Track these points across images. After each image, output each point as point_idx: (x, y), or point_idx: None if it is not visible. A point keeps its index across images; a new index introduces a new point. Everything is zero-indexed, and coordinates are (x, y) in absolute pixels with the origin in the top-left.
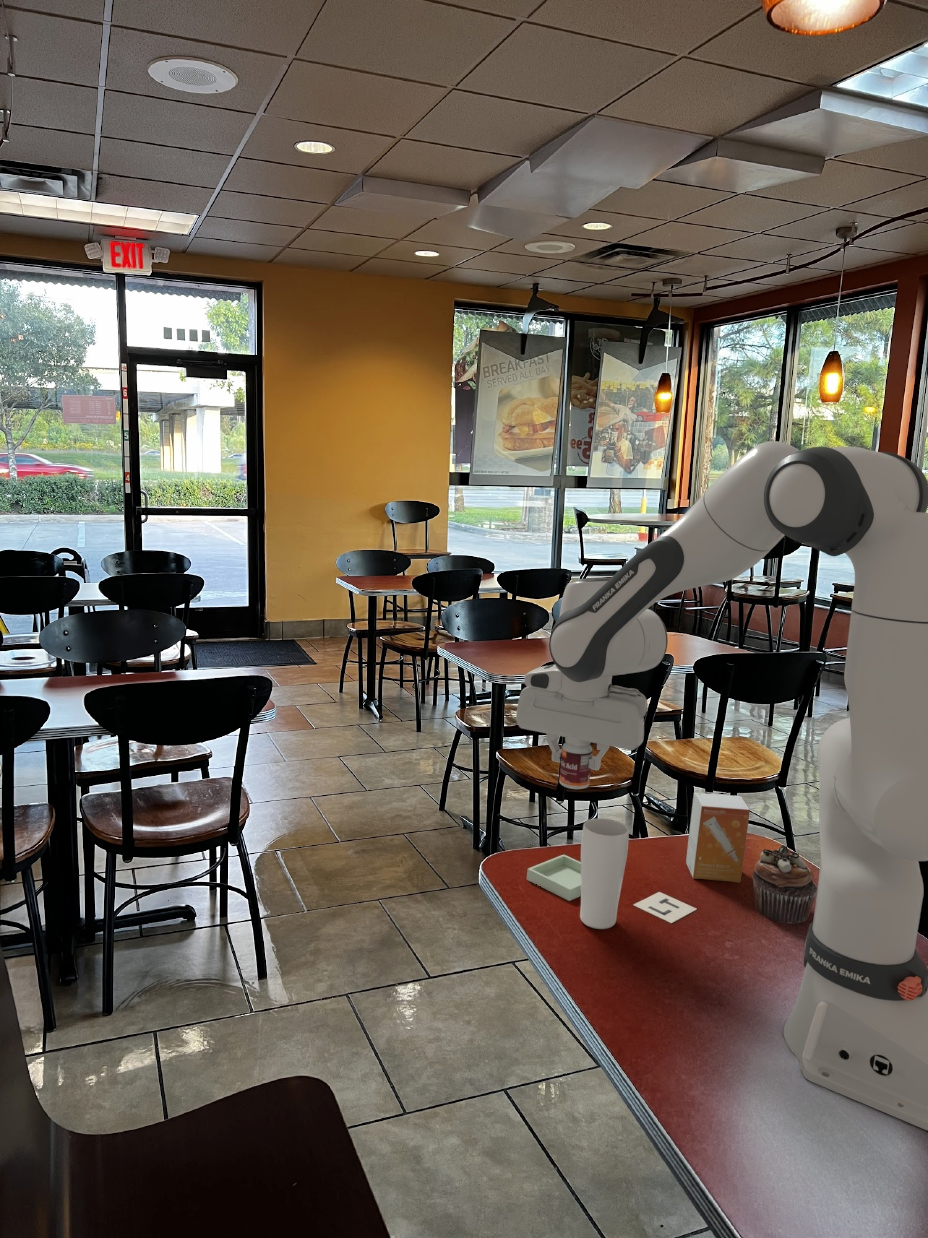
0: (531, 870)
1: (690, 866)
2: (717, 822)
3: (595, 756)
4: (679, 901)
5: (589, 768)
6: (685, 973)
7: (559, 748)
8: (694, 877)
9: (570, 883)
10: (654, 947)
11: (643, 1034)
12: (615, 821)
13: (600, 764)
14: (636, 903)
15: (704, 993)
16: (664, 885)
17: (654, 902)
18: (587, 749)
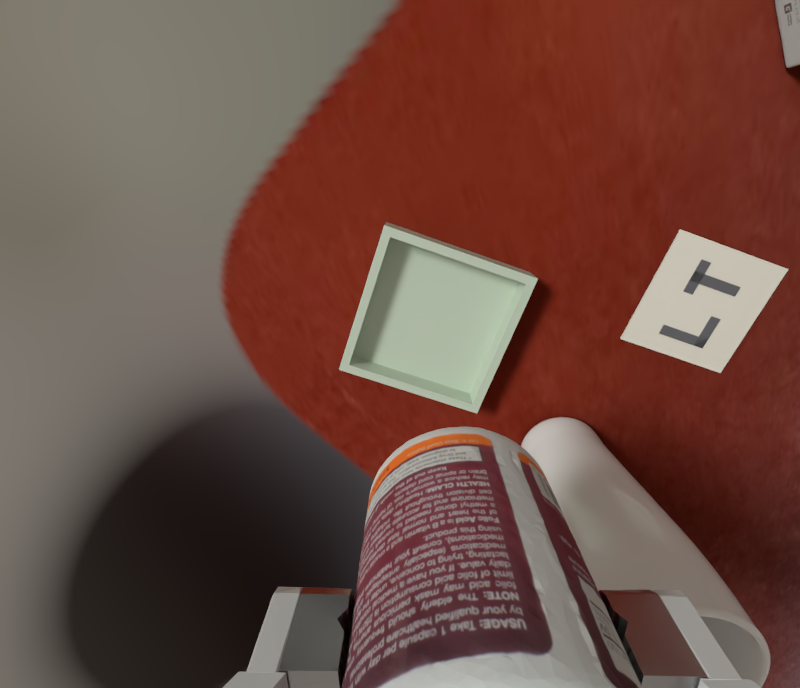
0: (351, 372)
1: (793, 9)
2: None
3: (678, 683)
4: (740, 254)
5: None
6: (751, 526)
7: (283, 683)
8: (794, 66)
9: (450, 331)
10: (687, 476)
11: None
12: (708, 616)
13: (695, 616)
14: (628, 329)
15: (784, 562)
16: (691, 172)
17: (672, 298)
18: None
